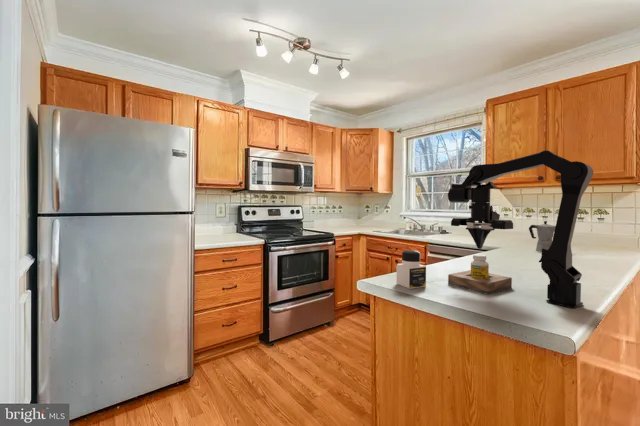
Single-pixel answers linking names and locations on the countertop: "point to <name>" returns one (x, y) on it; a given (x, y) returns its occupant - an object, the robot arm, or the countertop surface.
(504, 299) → the countertop surface
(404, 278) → the medicine bottle
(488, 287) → the socket block
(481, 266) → the supplement bottle
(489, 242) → the countertop surface
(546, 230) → the coffeepot
